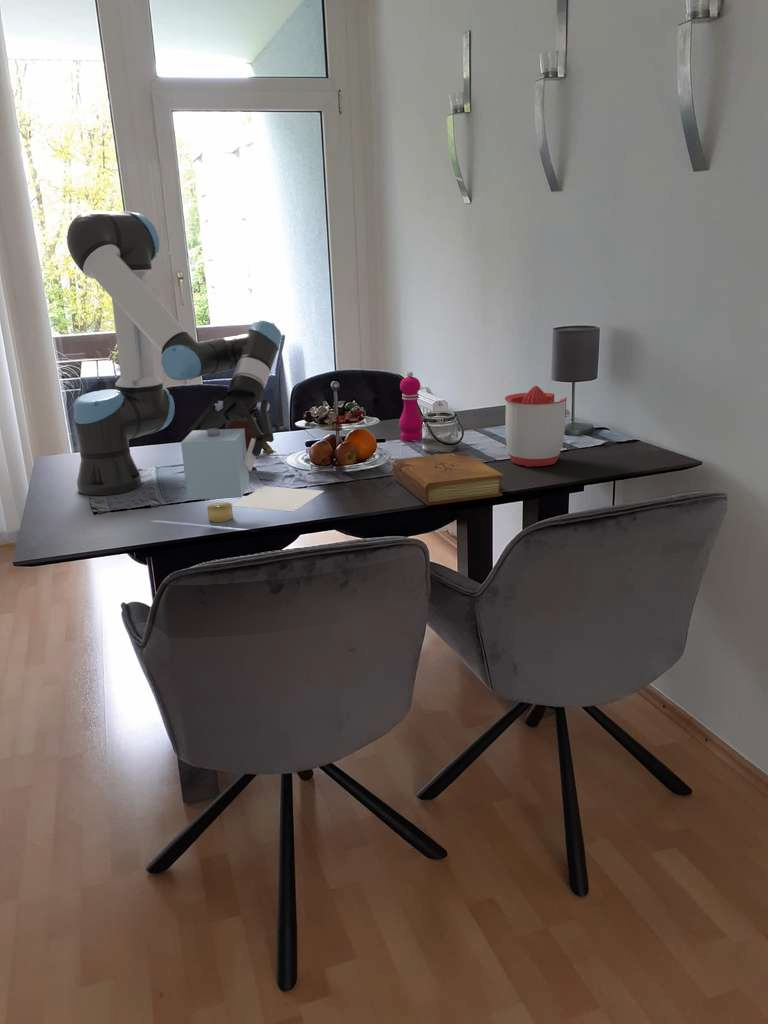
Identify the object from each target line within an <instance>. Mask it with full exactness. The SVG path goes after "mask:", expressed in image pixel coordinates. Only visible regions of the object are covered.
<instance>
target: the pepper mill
mask: <svg viewBox="0 0 768 1024" xmlns="http://www.w3.org/2000/svg"><path fill="white" fill-rule="evenodd" d="M406 376H407V377H403V379H402V380H401V381H400V384H399V389H400V391H401V392H402V394H401V395H402V397H401V399H402V400H403V410H402V413H401V416H400V418H399V423H398V428H399V429H400V430H401V431H402V432H401V433H400V440H402V441H404V442H405V441H406V442H414V441H413V440H418V441H421V440H422V439H423V433H422V432H421V430H422V429H423V427H422V424H423V425H424V420H423V417H422V415H421V413H420V411H419V407H418V400H419V399H420V394H419V393H418V392H420V390H421V382H420V380H419V379H418V378H417V377H414V373H413V372H412V371H408V372H407V374H406ZM421 438H422V439H421ZM420 439H421V440H420Z"/></svg>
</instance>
